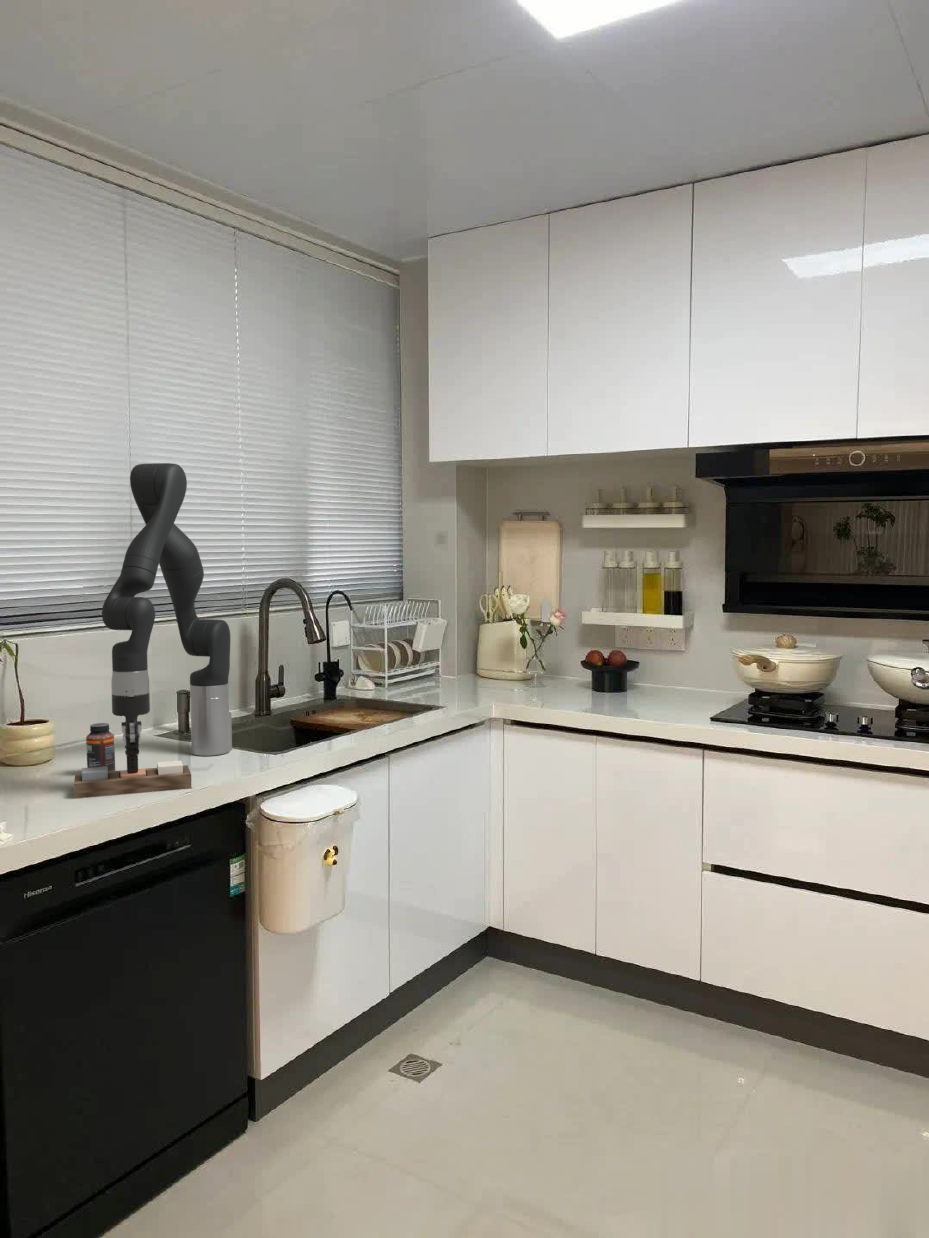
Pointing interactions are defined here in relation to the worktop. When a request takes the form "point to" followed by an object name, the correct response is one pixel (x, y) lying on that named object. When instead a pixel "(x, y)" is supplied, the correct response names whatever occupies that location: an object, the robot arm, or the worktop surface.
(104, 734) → the supplement bottle
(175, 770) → the cream key
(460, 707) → the worktop surface
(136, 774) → the terracotta key
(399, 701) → the worktop surface
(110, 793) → the key console
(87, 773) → the slate key
